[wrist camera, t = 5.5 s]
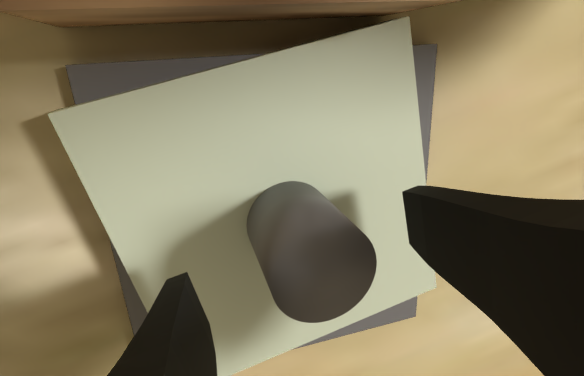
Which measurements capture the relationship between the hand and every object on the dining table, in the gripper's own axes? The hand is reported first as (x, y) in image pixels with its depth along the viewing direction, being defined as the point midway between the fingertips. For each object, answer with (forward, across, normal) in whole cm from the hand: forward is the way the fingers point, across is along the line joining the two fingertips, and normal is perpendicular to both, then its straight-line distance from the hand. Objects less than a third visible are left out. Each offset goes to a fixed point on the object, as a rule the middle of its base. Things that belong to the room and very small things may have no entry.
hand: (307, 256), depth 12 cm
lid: (+2, 0, 0) cm, 3 cm away
